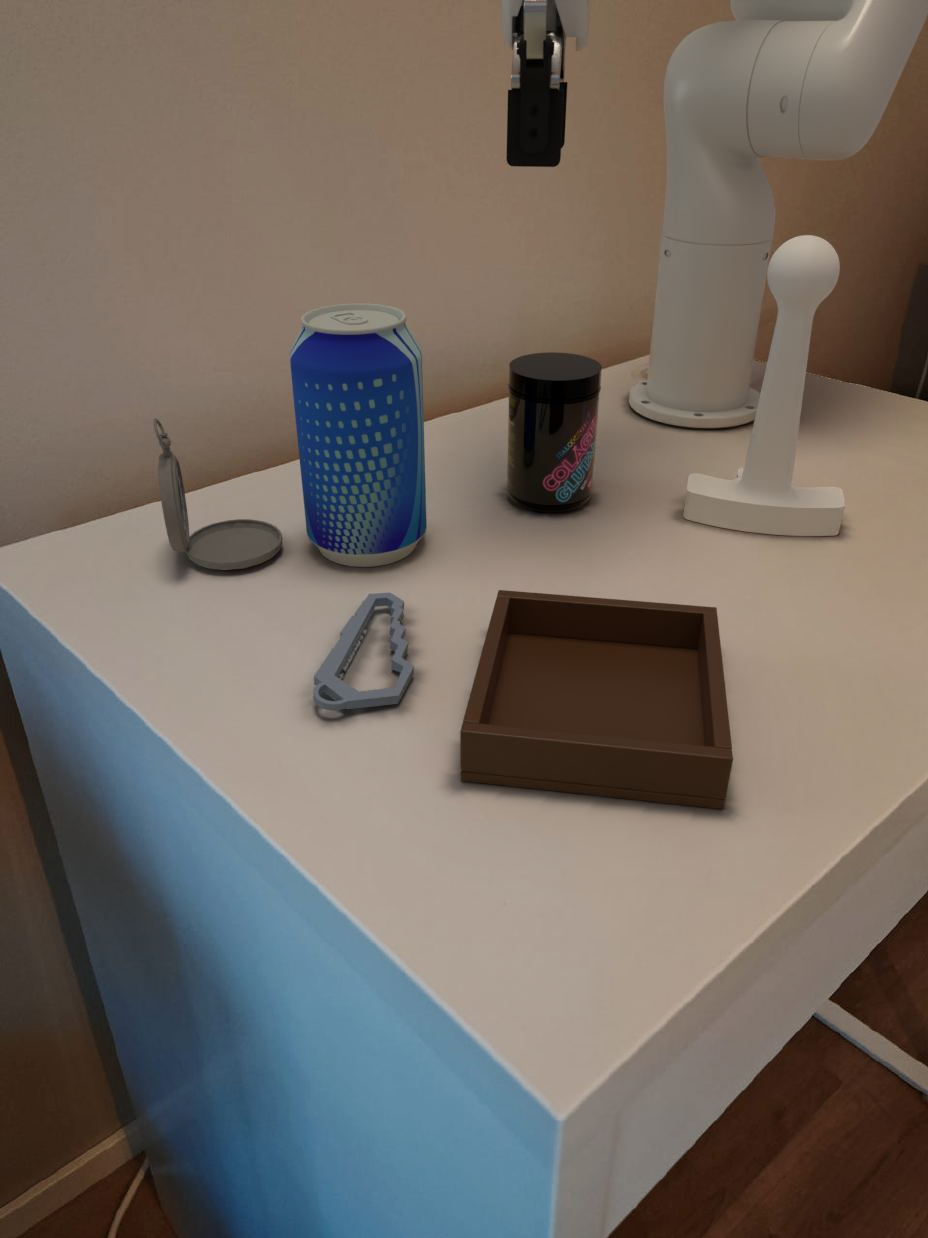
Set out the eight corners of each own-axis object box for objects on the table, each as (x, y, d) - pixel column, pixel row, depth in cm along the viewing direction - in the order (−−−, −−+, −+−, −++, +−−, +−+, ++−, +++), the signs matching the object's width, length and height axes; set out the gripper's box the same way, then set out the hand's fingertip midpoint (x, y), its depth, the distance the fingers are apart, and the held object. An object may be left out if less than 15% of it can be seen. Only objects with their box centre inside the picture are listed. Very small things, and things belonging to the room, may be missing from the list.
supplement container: (525, 521, 72) (530, 384, 66) (493, 486, 77) (495, 357, 72) (607, 508, 74) (618, 374, 68) (570, 475, 79) (577, 348, 74)
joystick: (681, 524, 71) (718, 237, 61) (688, 484, 77) (722, 217, 67) (839, 541, 69) (906, 246, 58) (834, 498, 75) (893, 224, 64)
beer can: (433, 520, 72) (429, 300, 63) (418, 575, 65) (410, 335, 56) (323, 516, 73) (303, 298, 64) (295, 569, 65) (269, 332, 57)
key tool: (440, 614, 61) (364, 600, 61) (441, 601, 60) (364, 587, 61) (391, 730, 51) (301, 712, 52) (392, 716, 50) (301, 698, 51)
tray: (497, 633, 59) (498, 589, 57) (709, 651, 57) (716, 606, 55) (460, 781, 47) (459, 731, 46) (724, 810, 45) (733, 759, 44)
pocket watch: (302, 551, 68) (288, 414, 63) (200, 595, 63) (176, 450, 57) (233, 516, 73) (215, 386, 67) (133, 555, 67) (105, 417, 62)
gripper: (622, -224, 45) (596, 175, 54) (615, -163, 60) (595, 143, 69) (463, -220, 46) (463, 173, 55) (494, -161, 61) (491, 142, 70)
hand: (537, 156), depth 62 cm, fingers open, 9 cm apart
